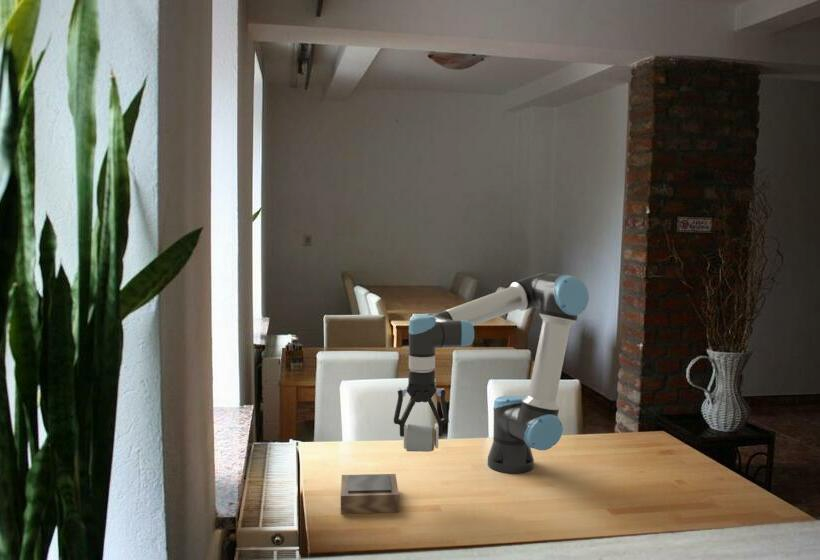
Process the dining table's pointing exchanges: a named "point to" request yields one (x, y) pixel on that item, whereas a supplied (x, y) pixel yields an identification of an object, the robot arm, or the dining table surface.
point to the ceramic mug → (420, 438)
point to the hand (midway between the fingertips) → (420, 446)
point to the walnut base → (369, 493)
